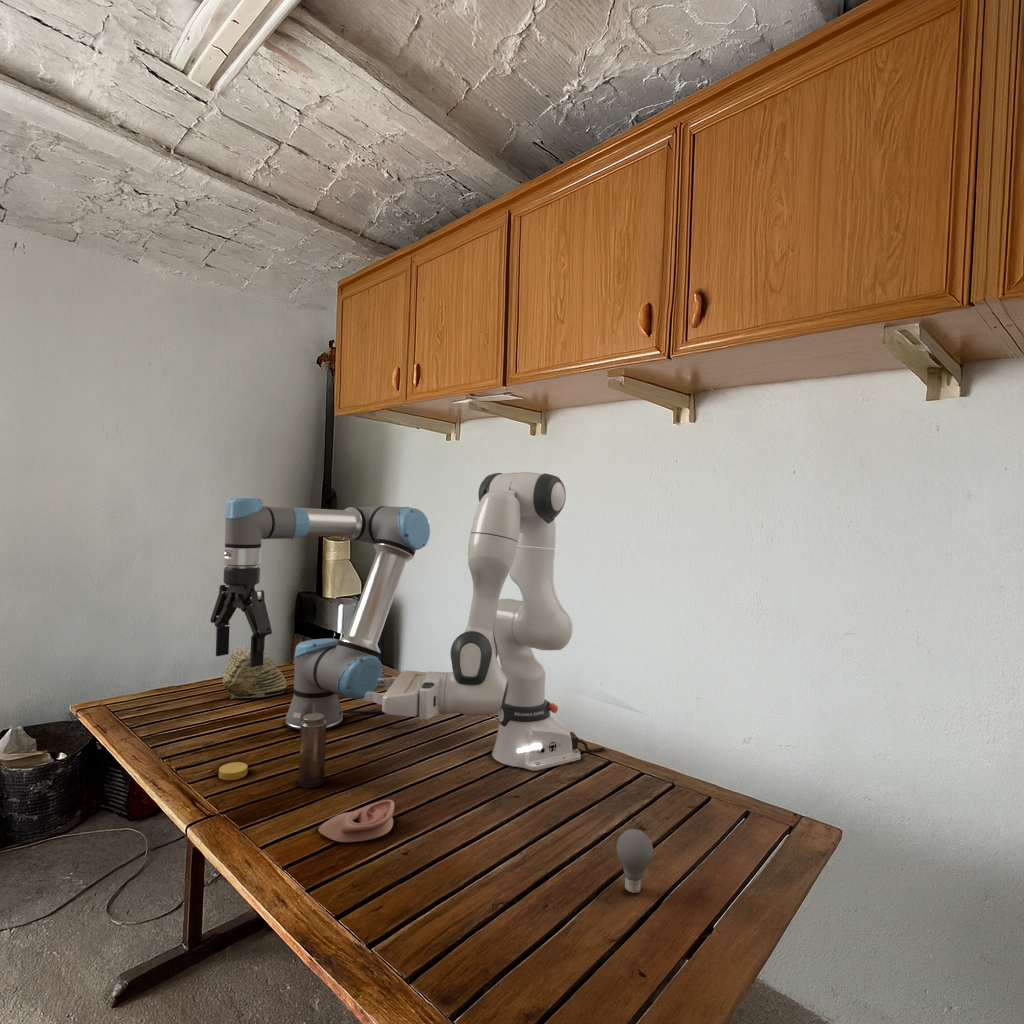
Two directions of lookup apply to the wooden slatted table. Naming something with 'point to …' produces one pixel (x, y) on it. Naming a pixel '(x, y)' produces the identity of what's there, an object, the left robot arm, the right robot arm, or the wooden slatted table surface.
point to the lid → (233, 771)
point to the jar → (312, 751)
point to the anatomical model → (360, 823)
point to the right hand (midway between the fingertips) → (371, 689)
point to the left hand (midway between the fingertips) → (238, 660)
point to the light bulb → (634, 857)
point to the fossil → (252, 676)
